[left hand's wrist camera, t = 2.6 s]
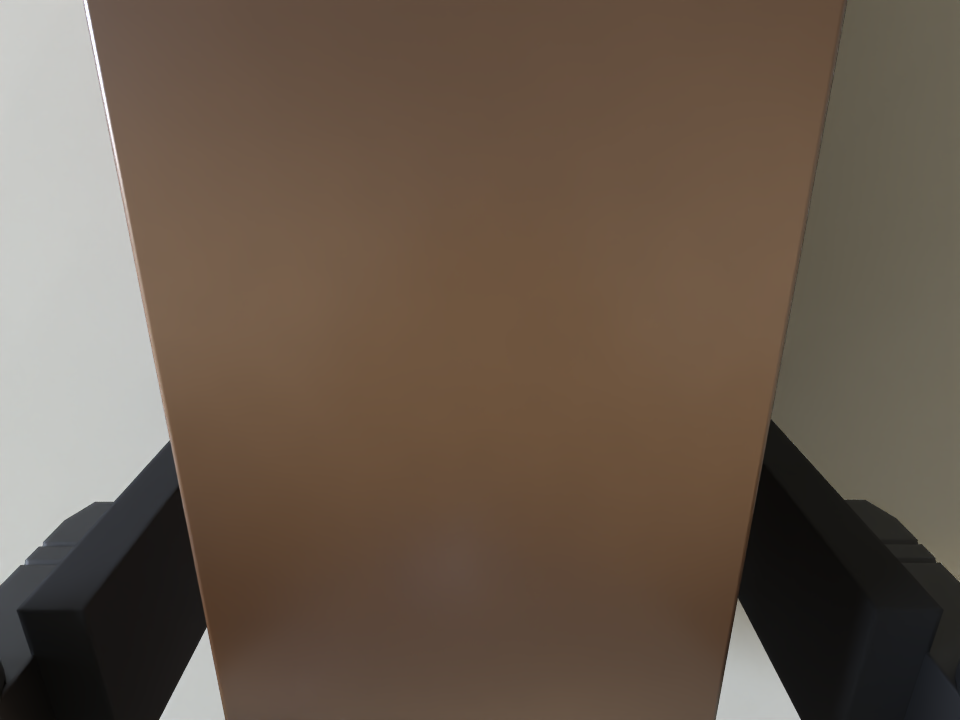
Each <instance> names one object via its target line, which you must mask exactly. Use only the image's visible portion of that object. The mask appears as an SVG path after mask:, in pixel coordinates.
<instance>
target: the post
mask: <svg viewBox="0 0 960 720" xmlns="http://www.w3.org/2000/svg"><path fill="white" fill-rule="evenodd" d="M83 4H84V9H85V14H86V19H87V24H88V29H89V34H90V39H91V44H92V49H93V54H94V59H95V64H96V69H97V74H98V79H99V84H100V89H101V94H102V99H103V104H104V109H105V115H106V120H107V125H108V130H109V135H110V140H111V145H112V150H113V155H114V160H115V165H116V170H117V175H118V180H119V185H120V190H121V195H122V200H123V205H124V210H125V215H126V221H127V226H128V231H129V236H130V241H131V246H132V251H133V256H134V261H135V266H136V271H137V276H138V281H139V286H140V291H141V296H142V301H143V306H144V311H145V316H146V321H147V326H148V332H149V337H150V342H151V347H152V352H153V357H154V362H155V367H156V372H157V377H158V382H159V387H160V392H161V397H162V402H163V407H164V412H165V417H166V422H167V427H168V432H169V438H170V443H171V448H172V453H173V458H174V463H175V468H176V473H177V478H178V483H179V488H180V493H181V498H182V503H183V508H184V513H185V518H186V523H187V528H188V533H189V538H190V544H191V549H192V554H193V559H194V564H195V569H196V574H197V579H198V584H199V589H200V594H201V599H202V604H203V609H204V614H205V619H206V624H207V629H208V634H209V639H210V644H211V649H212V655H213V660H214V665H215V670H216V675H217V680H218V685H219V690H220V695H221V700H222V705H223V710H224V715H225V720H716V714H717V709H718V704H719V698H720V693H721V687H722V682H723V676H724V671H725V665H726V660H727V654H728V649H729V644H730V638H731V633H732V627H733V622H734V616H735V611H736V605H737V600H738V594H739V589H740V583H741V578H742V573H743V567H744V562H745V556H746V551H747V545H748V540H749V534H750V529H751V523H752V518H753V513H754V507H755V502H756V496H757V491H758V485H759V480H760V474H761V469H762V463H763V458H764V453H765V447H766V442H767V436H768V431H769V425H770V420H771V414H772V409H773V403H774V398H775V393H776V387H777V382H778V376H779V371H780V365H781V360H782V354H783V349H784V343H785V338H786V332H787V327H788V322H789V316H790V311H791V305H792V300H793V294H794V289H795V283H796V278H797V272H798V267H799V262H800V256H801V251H802V245H803V240H804V234H805V229H806V223H807V218H808V212H809V207H810V202H811V196H812V191H813V185H814V180H815V174H816V169H817V163H818V158H819V152H820V147H821V142H822V136H823V131H824V125H825V120H826V114H827V109H828V103H829V98H830V92H831V87H832V81H833V76H834V71H835V65H836V60H837V54H838V49H839V43H840V38H841V32H842V27H843V21H844V16H845V11H846V5H847V0H83Z"/></svg>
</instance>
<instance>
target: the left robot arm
mask: <svg viewBox="0 0 960 720" xmlns="http://www.w3.org/2000/svg"><path fill="white" fill-rule="evenodd" d="M917 541H918V540H917V539H916V538H915V537H914V536H913V535H912V534H911V533H910V532H909V531H908V530H907V529H906V528H905V527H904V526H903V525H902V524H901V523H900V522H899V521H898V520H897V519H896V518H895V517H893V516H891V515H890V514H888V513H886V512H885V511H883V510H881V509H880V508H878V507H876V506H875V505H873V504H871V503H870V502H868V501H866V500H844V499H843V498H842V497H841V496H840V495H839V494H838V493H837V492H836V490H835V489H834V488H833V487H832V486H831V485H830V484H829V483H828V482H827V480H826V479H825V478H824V477H823V476H822V475H821V474H820V473H819V472H818V471H817V469H816V468H815V467H814V466H813V465H812V464H811V463H810V462H809V461H808V459H807V458H806V457H805V456H804V455H803V454H802V453H801V452H800V451H799V450H798V448H797V447H796V446H795V445H794V444H793V443H792V442H791V441H790V440H789V438H788V437H787V436H786V435H785V434H784V433H783V432H782V431H781V430H780V429H779V427H778V426H777V425H776V424H775V423H774V422H773V421H772V420H770V425H769V431H768V436H767V442H766V447H765V453H764V458H763V463H762V469H761V474H760V480H759V485H758V491H757V496H756V502H755V507H754V513H753V518H752V523H751V529H750V534H749V540H748V545H747V551H746V556H745V562H744V567H743V573H742V578H741V583H740V589H739V594H738V599H739V600H740V602H741V604H742V606H743V608H744V610H745V612H746V614H747V616H748V618H749V620H750V622H751V624H752V626H753V628H754V630H755V631H756V633H757V635H758V637H759V639H760V641H761V643H762V645H763V647H764V649H765V651H766V653H767V655H768V657H769V659H770V661H771V662H772V664H773V666H774V668H775V670H776V672H777V674H778V676H779V678H780V680H781V682H782V684H783V686H784V688H785V690H786V692H787V693H788V695H789V697H790V699H791V701H792V703H793V705H794V707H795V709H796V711H797V713H798V715H799V717H800V719H801V720H960V582H959V581H958V580H957V579H956V578H955V577H954V576H953V575H952V574H951V573H950V572H949V571H948V570H947V569H946V568H945V567H944V566H943V565H942V564H941V563H936V560H935V557H934V556H933V555H932V554H931V553H930V552H929V551H928V550H927V549H926V548H925V547H924V546H923V545H922V544H918V542H917ZM206 628H207V624H206V619H205V614H204V609H203V604H202V599H201V594H200V589H199V584H198V579H197V574H196V569H195V564H194V559H193V554H192V549H191V544H190V538H189V533H188V528H187V523H186V518H185V513H184V508H183V503H182V498H181V493H180V488H179V483H178V478H177V473H176V468H175V463H174V458H173V453H172V448H171V443H170V441H169V442H168V443H167V444H166V445H165V446H164V447H163V448H162V450H161V451H160V452H159V453H158V454H157V455H156V456H155V457H154V458H153V459H152V461H151V462H150V463H149V464H148V465H147V466H146V467H145V468H144V469H143V471H142V472H141V473H140V474H139V475H138V476H137V477H136V478H135V479H134V480H133V482H132V483H131V484H130V485H129V486H128V487H127V488H126V489H125V490H124V491H123V493H122V494H121V495H120V496H119V497H118V498H117V499H116V500H115V501H114V502H94V503H93V504H91V505H89V506H88V507H86V508H84V509H83V510H81V511H79V512H78V513H76V514H74V515H73V516H71V517H69V518H68V519H66V520H65V521H64V522H63V523H62V524H61V525H60V526H59V527H58V528H57V529H56V530H55V531H54V532H53V533H52V534H51V535H50V536H49V537H48V538H47V539H46V540H45V541H44V542H43V546H42V547H38V548H37V549H36V550H35V551H34V552H33V553H32V554H31V555H30V556H29V557H28V558H27V559H26V560H25V565H20V566H19V567H18V568H17V569H16V570H15V571H14V572H13V573H12V574H11V575H10V576H9V577H8V578H7V580H6V581H5V582H4V583H3V584H2V585H1V586H0V720H159V719H160V717H161V715H162V713H163V711H164V709H165V707H166V705H167V703H168V701H169V699H170V697H171V695H172V693H173V692H174V690H175V688H176V686H177V684H178V682H179V680H180V678H181V676H182V674H183V672H184V670H185V668H186V666H187V664H188V662H189V661H190V659H191V657H192V655H193V653H194V651H195V649H196V647H197V645H198V643H199V641H200V639H201V637H202V635H203V633H204V631H205V630H206Z"/></svg>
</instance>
